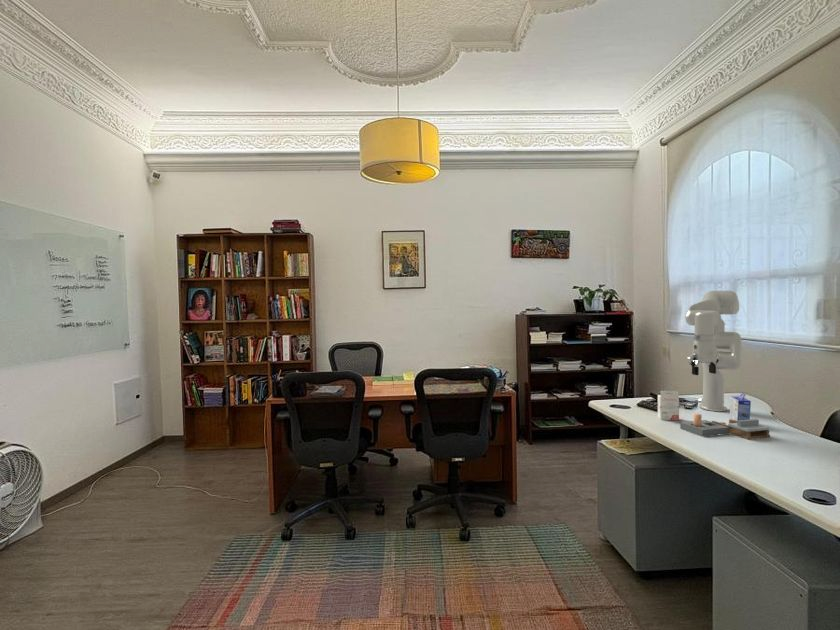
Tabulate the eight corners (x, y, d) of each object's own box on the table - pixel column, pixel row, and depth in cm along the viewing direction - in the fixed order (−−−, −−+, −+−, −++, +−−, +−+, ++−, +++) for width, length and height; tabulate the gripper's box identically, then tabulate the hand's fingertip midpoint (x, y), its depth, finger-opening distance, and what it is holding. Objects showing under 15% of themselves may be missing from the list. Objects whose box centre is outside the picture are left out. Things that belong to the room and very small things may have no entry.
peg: (691, 431, 196) (692, 413, 196) (697, 430, 197) (697, 413, 197) (697, 433, 193) (697, 415, 193) (702, 432, 194) (703, 415, 194)
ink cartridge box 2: (751, 426, 202) (751, 396, 201) (737, 425, 204) (737, 395, 203) (742, 420, 211) (742, 391, 211) (729, 420, 213) (729, 391, 213)
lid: (728, 425, 193) (728, 418, 193) (748, 423, 196) (748, 416, 195) (747, 431, 184) (747, 424, 184) (768, 429, 187) (768, 422, 187)
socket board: (680, 428, 200) (680, 422, 200) (705, 426, 203) (705, 420, 203) (702, 436, 189) (702, 429, 188) (728, 434, 192) (728, 427, 191)
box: (710, 427, 202) (710, 421, 201) (731, 425, 204) (731, 419, 204) (747, 439, 184) (747, 432, 184) (769, 437, 187) (770, 430, 186)
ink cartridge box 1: (675, 418, 218) (676, 389, 217) (679, 420, 213) (679, 391, 212) (657, 417, 220) (657, 388, 219) (660, 419, 215) (660, 390, 214)
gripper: (695, 340, 196) (695, 377, 198) (726, 337, 200) (726, 374, 201) (682, 338, 204) (681, 373, 205) (712, 336, 207) (712, 371, 209)
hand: (703, 374), depth 203 cm, fingers open, 9 cm apart
